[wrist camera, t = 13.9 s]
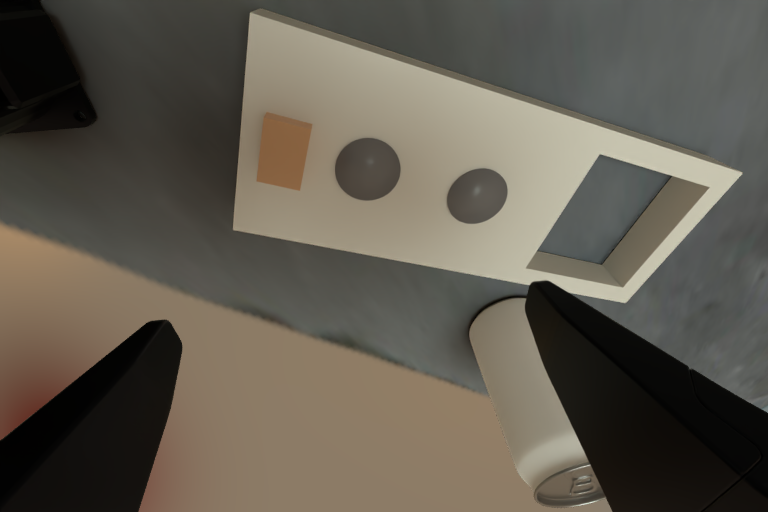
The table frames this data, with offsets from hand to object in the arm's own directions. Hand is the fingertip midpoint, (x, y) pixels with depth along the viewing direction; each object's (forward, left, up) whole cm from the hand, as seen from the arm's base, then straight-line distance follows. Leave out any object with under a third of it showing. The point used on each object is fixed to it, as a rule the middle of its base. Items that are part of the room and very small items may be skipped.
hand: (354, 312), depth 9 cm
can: (+11, -16, -13) cm, 24 cm away
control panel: (+7, -3, -13) cm, 15 cm away
